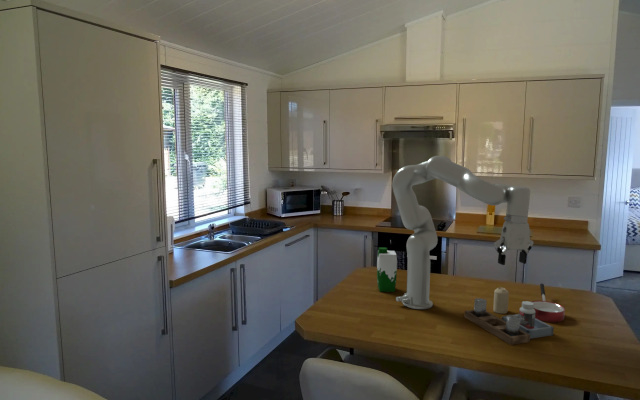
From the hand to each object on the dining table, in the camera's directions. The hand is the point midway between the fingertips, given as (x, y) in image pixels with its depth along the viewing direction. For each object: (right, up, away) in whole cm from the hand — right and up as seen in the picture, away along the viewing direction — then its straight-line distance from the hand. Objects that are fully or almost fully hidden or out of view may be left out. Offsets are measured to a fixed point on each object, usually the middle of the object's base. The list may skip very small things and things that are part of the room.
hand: (511, 263), depth 171 cm
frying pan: (+21, -22, +19) cm, 36 cm away
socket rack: (-7, -24, -2) cm, 25 cm away
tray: (+4, -24, -3) cm, 25 cm away
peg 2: (-5, -25, -11) cm, 28 cm away
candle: (+2, -22, +15) cm, 27 cm away
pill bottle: (+4, -24, -3) cm, 25 cm away
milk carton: (-42, -18, +42) cm, 62 cm away
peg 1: (-10, -23, +6) cm, 26 cm away
